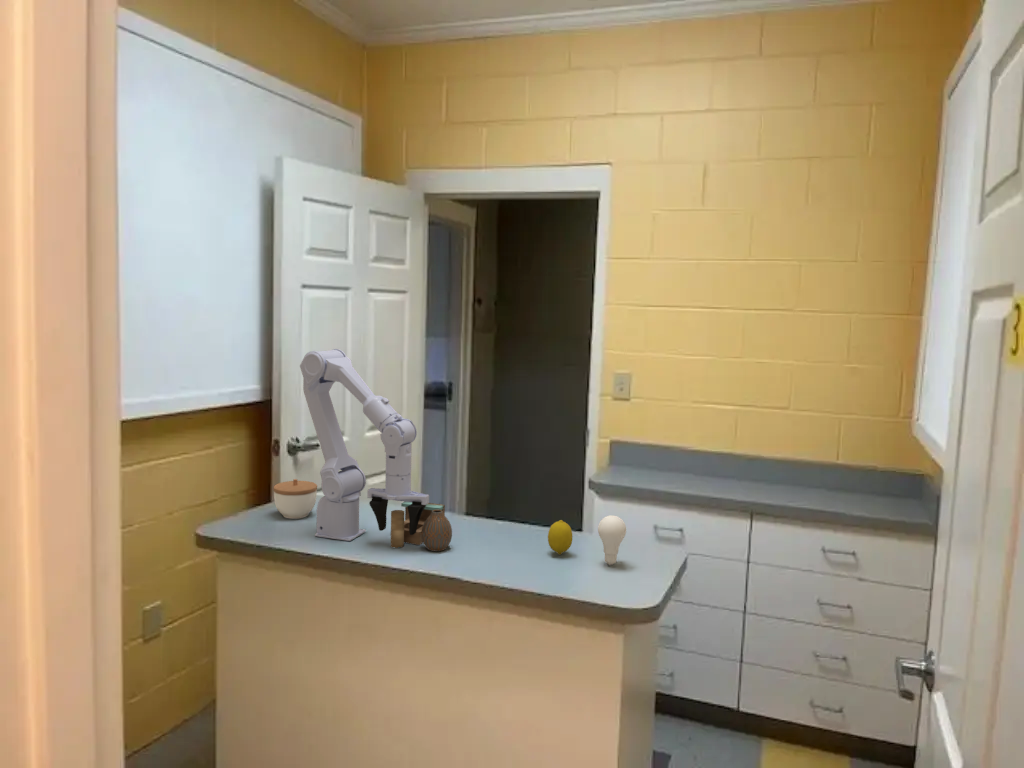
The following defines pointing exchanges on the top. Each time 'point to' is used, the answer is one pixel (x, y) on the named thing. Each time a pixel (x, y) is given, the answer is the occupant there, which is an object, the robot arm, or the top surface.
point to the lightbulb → (611, 536)
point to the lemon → (560, 537)
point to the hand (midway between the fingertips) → (397, 531)
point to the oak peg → (397, 528)
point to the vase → (436, 531)
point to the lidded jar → (295, 498)
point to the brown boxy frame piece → (425, 514)
